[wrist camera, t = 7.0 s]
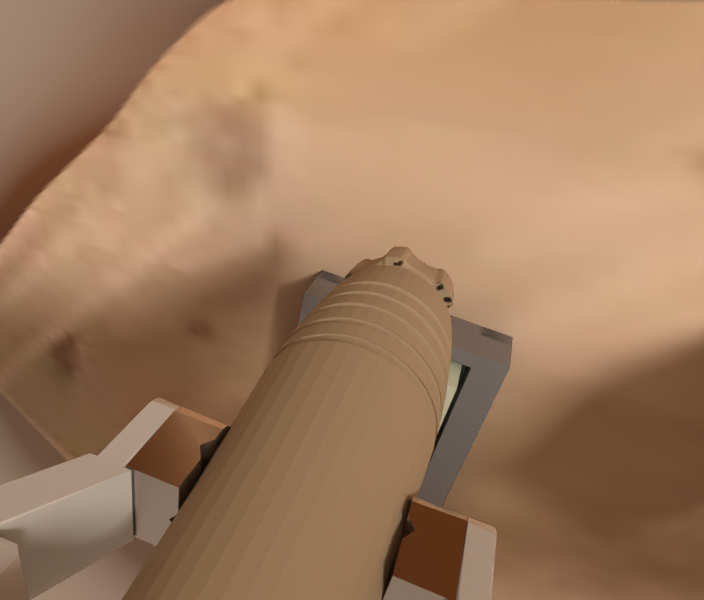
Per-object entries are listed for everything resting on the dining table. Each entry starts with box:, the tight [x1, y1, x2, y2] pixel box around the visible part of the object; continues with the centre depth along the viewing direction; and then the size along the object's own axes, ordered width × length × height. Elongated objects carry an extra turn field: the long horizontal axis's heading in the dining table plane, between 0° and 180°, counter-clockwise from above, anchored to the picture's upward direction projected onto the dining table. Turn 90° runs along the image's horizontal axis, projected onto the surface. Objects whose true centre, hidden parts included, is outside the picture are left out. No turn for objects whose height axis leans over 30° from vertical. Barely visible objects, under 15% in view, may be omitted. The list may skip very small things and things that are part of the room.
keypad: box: [298, 271, 513, 507], centre depth 34 cm, size 25×10×3 cm, turn 167°
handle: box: [122, 247, 454, 600], centre depth 10 cm, size 5×6×15 cm
